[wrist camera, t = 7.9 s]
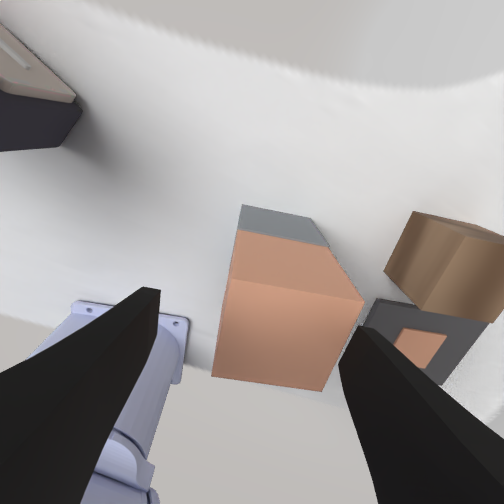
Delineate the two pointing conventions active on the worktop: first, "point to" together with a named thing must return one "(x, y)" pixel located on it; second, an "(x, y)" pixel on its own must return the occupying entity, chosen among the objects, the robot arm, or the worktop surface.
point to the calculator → (31, 100)
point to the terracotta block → (283, 313)
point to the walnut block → (450, 267)
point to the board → (425, 336)
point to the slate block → (279, 225)
